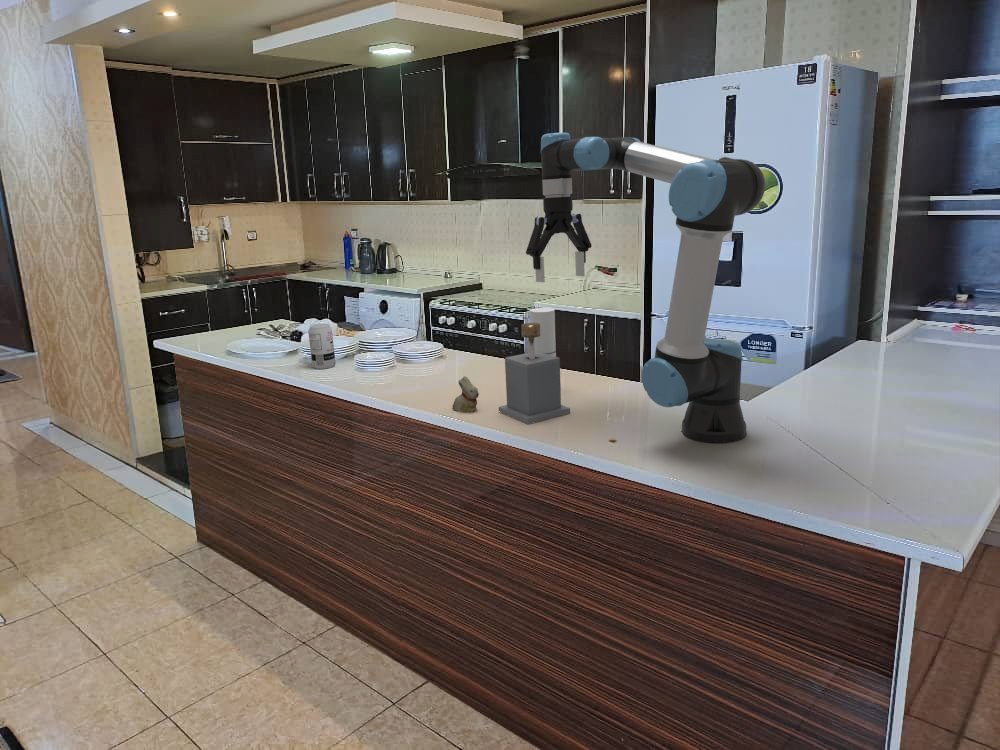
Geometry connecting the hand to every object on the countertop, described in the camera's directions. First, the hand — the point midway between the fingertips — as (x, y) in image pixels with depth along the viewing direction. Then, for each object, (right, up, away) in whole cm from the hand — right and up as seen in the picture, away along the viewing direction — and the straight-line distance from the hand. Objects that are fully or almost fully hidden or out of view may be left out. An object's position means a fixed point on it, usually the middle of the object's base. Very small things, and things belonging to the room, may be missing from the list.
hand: (560, 279), depth 194 cm
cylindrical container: (-2, -31, +26) cm, 41 cm away
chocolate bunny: (-26, -35, +13) cm, 46 cm away
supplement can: (-79, -23, +71) cm, 109 cm away
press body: (-7, -36, +8) cm, 37 cm away
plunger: (-7, -32, +7) cm, 33 cm away
